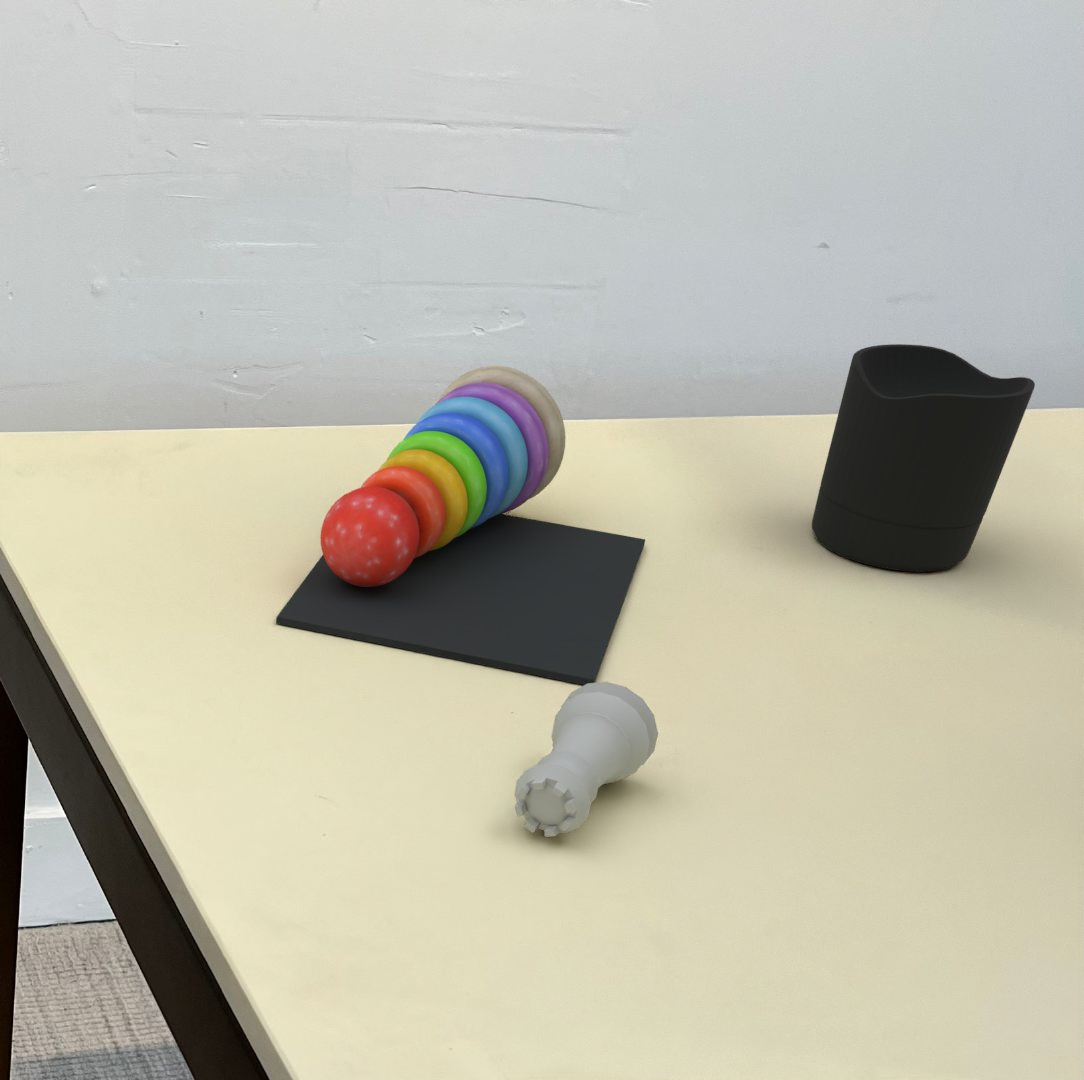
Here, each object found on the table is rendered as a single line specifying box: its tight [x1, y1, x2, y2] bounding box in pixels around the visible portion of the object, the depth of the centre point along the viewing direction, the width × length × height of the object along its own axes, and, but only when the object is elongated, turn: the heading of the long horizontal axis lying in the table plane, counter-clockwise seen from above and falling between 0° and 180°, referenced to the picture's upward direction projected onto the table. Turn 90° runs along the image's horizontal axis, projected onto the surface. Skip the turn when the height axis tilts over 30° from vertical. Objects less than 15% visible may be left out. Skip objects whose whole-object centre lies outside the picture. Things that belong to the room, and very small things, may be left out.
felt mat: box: [275, 513, 646, 686], centre depth 99 cm, size 16×20×1 cm
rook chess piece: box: [513, 681, 659, 838], centre depth 78 cm, size 4×4×8 cm
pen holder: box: [811, 343, 1036, 573], centre depth 103 cm, size 9×9×10 cm
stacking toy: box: [320, 365, 566, 587], centre depth 99 cm, size 8×8×19 cm
